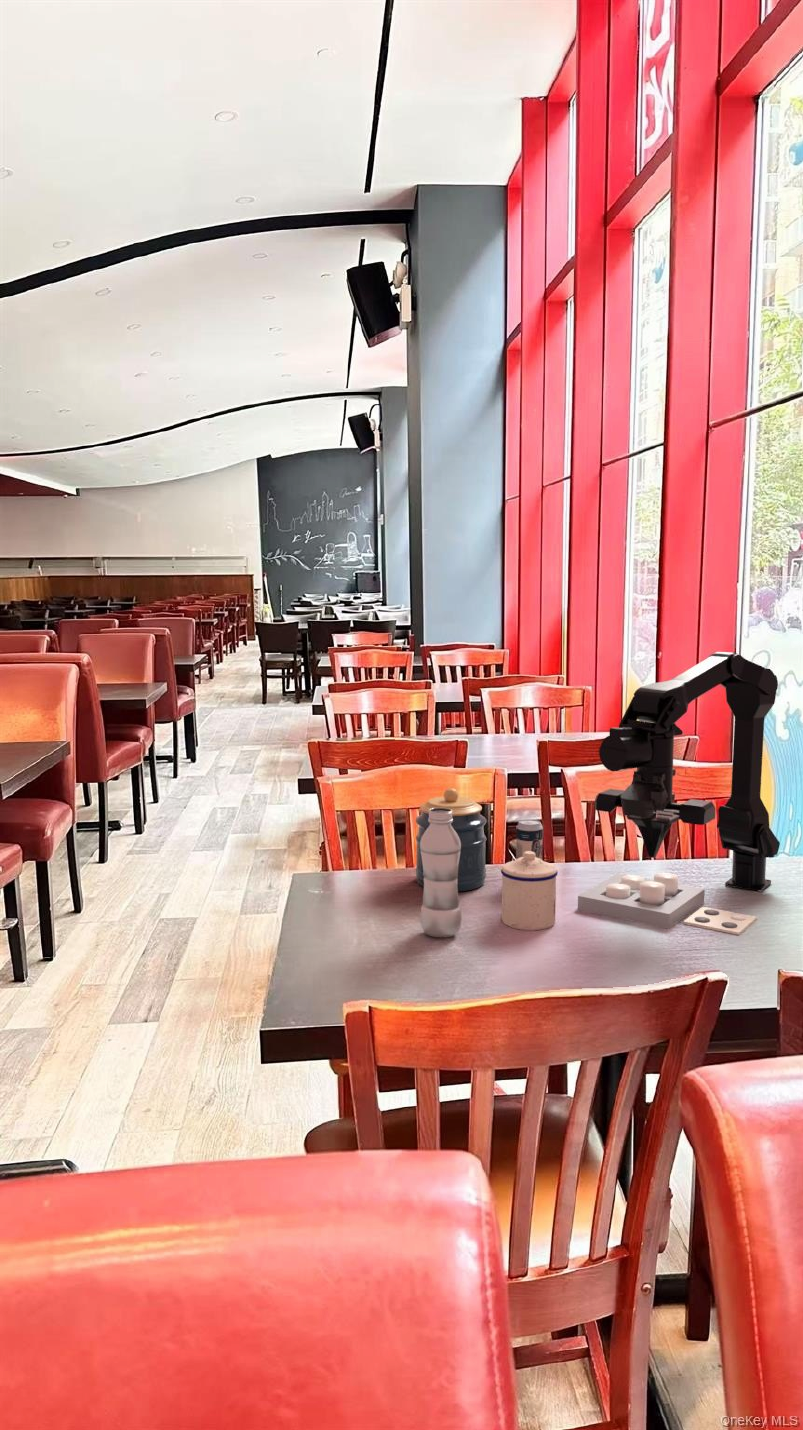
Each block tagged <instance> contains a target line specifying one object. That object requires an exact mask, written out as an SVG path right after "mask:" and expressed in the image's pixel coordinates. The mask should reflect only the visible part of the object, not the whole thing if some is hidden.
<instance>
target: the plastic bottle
mask: <svg viewBox="0 0 803 1430" xmlns="http://www.w3.org/2000/svg"><path fill="white" fill-rule="evenodd" d="M428 822H429V823H430V826H429V827H428V828H427V830H426V831H425V833H424V834H423V836H422V837H421V841H420V849H421V856H422V863H423V875H424V887H423V891H422V892H423V893H422V896H423V897H422V905H421V907H420V915H419V919H420V926H421V929H422V930H423V933H424V934H426V935H427V936H430V937H434V938H449V937H452V936H455V935H457V934H458V933H459V931H460V929H461V925H462V922H463V921H462V920H463V919H462V912H461V911H462V910H461V908H460V907H461V906H460V904H459V903H460V901H459V891H458V887H457V882H458V879H457V877H458V865H459V858H460V850H461V842H460V839H459V836H458V835H457V833H456V831H455V830H454V829H453V827H452V826H451V823H452V822H453V818H452V810H451V809H449V808H432V809H430V810H429V818H428Z"/></svg>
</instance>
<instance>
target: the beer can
mask: <svg viewBox="0 0 803 1430" xmlns="http://www.w3.org/2000/svg"><path fill="white" fill-rule="evenodd" d="M515 827H516V841H515V843H516V849H515V851H516V852H515V853H516V856H515V857H516V858H515V860H516V859H518V858H521V857H523V853H524V852H526V851H532V852H534V853H535V854H536V858H539V859H541V860H543V832H544V831H543V829H544V827H543V825H542V823H541V821H540V820H536V819H522V820H519V821H518V823H517V825H516V826H515Z"/></svg>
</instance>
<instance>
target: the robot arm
mask: <svg viewBox="0 0 803 1430" xmlns="http://www.w3.org/2000/svg"><path fill="white" fill-rule="evenodd" d="M719 685H720V686H721V687H723V688H724V689H725V700H726V701H725V702H726V703H727V704H728V707H729V709H730V710H731V713H732V714H733V716H734V724H733V725H734V727H733V728H734V729H733V744H732V746H733V748H732V749H733V750H732V752H733V753H732V765H731V766H732V769H731V771H732V772H731V790H730V797H729V799H728V800H727V801H726V802H725V804H724V805H720V806H718V810H717V812H718V813H717V815H718V816H717V817H718V820H717V824H716V828H718V834H719V838H720V844H721V847H722V849H724V850H729V851H732V867H731V868H732V869H731V871H732V872H731V873H732V874H731V878H729V879H728V880H727V881H725V884H724V885H725V886H729V887H735V888H740V889H745V890H752V891H757V892H763V891H764V890H765V889H766V888H767V887H769V885H770V884H772V880H771V879H766V873H767V872H766V869H767V858H769V859H771V858H772V859H773V858H775V856H776V855H778V853H779V849H780V845H781V842H780V841H779V839H778V838H777V837H776V835H775V834H774V832H773V831H772V830H771V828H770V816H769V815H770V814H769V812H768V809H767V808H766V806H765V804H764V802H763V800H762V798H761V790H762V773H763V772H762V770H763V752H764V732H765V731H764V729H765V719H766V716H767V715H768V713H769V712H770V710H771V709H772V708H773V707H774V705H775V703H776V698H777V697H776V696H777V691H778V686H779V681H778V677H777V675H776V674H775V673H774V672H773V670H772V669H770V668H766V667H764V666H762V665H760V664H758V663H755V662H753V661H750V660H748V659H746V658H745V657H744V656H742V655H740V654H738V653H736V652H727V651H715V652H714V653H711V654H710V655H709V656H708V657H707V658H706V659H704V660H703V661H700V662H699V663H697V664H695V665H694V666H692V667H690V668H689V669H687V670H686V671H684V672H682V673H680V674H678V675H677V676H676V677H674V678H672V679H670V680H666V681H665V680H664V681H659V682H653V683H649V684H646V685H644V686H640V687H638V688H637V689H636V690H635V691H634V693H633V696H632V698H631V699H630V700H631V701H630V703H629V705H628V707H627V709H626V711H625V713H624V714H623V716H622V719H621V720H620V722H619V725H618V727H617V726H616V727H614V726H613V727H610V728H609V733H608V734H609V735H607V736H606V737H605V738H604V739H603V740H602V742H601V743H600V746H599V748H598V754H599V759H600V762H601V764H602V766H604V768H606V769H607V770H608V771H610V772H620V771H626V770H630V769H631V770H632V769H636V770H634V771H633V774H632V781H631V784H630V785H628V786H627V788H625V790H623V789H615V788H614V789H613V788H609V789H607V790H603V791H601V792H599V793H598V794H597V795H596V796H595V799H594V810H596V811H599V812H605V813H606V812H607V813H613V811H614V810H615V809H617V808H622V814H623V815H624V816H626V818H627V820H629V821H632V822H633V823H634V824H635V825H636V826H637V828H638V830H639V832H640V834H641V838H642V840H643V843H644V846H645V848H646V849H645V850H646V852H647V856H648V857H649V858H652V859H654V858H656V857H657V855H658V853H659V851H660V848H661V846H662V844H663V842H664V840H665V837H666V835H667V834H668V832H669V830H670V827H672V825H673V824H674V823H675V822H678V821H679V820H681V822H682V823H684V824H691V825H696V826H697V825H698V826H704V825H706V824H708V823H711V822H712V821H714V820H715V819H716V806H715V804H714V803H713V801H710V800H709V801H708V800H701V799H694V798H693V799H692V798H690V799H689V800H687V801H684V802H683V803H679V802H673V801H675V800H676V796H675V795H676V794H675V792H674V793H673V783H674V781H673V779H674V778H673V777H675V776H676V770H677V769H676V768H674V746H675V745H674V744H675V742H674V739H675V736H677V737H678V736H682V735H683V730H682V729H681V728H680V727H679V726H677V724H676V722H677V721H679V720H680V719H681V718H682V717H683V716H684V715H685V714H686V713H687V711H688V709H689V705H690V704H691V703H692V701H694V700H696V699H698V698H699V697H701V696H702V695H704V694H707V692H709V691H711V690H712V689H714V688H716V687H717V686H719Z"/></svg>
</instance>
